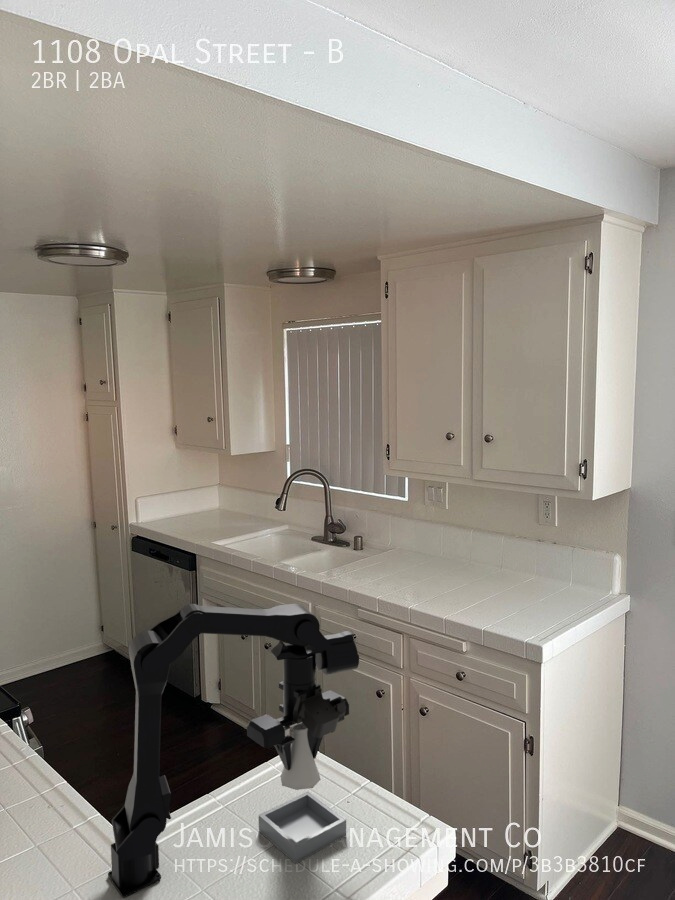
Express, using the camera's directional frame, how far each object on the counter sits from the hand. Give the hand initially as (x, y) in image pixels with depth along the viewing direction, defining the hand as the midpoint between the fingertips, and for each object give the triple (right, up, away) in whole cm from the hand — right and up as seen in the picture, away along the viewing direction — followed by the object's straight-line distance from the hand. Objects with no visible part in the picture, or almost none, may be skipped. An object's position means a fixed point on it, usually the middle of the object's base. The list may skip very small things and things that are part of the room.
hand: (300, 763), depth 121 cm
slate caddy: (0, -13, +1) cm, 13 cm away
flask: (0, -3, 0) cm, 3 cm away
